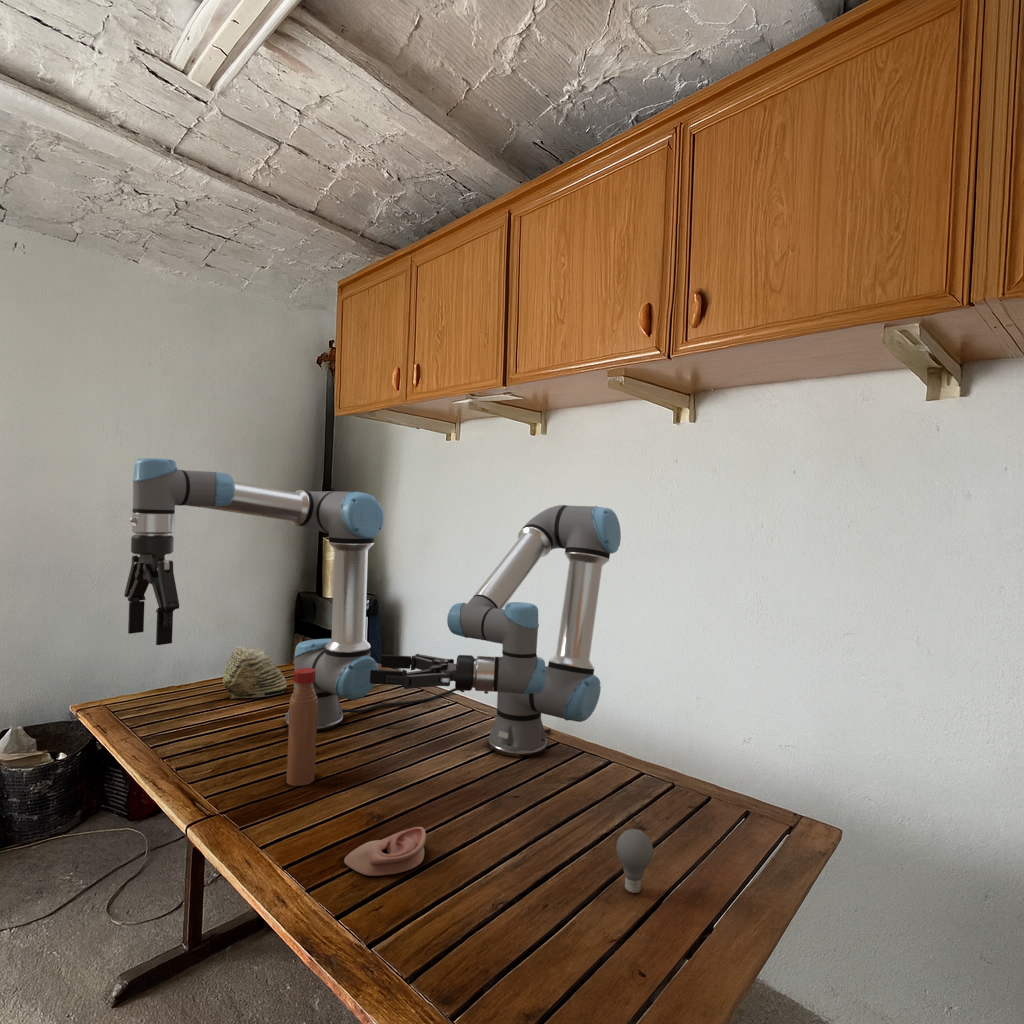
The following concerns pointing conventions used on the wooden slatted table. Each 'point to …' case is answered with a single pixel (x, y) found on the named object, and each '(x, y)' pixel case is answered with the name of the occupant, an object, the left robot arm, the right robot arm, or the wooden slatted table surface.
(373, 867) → the anatomical model
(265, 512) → the left robot arm
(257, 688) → the fossil
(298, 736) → the bottle
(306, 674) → the cap
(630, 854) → the light bulb
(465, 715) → the wooden slatted table surface
